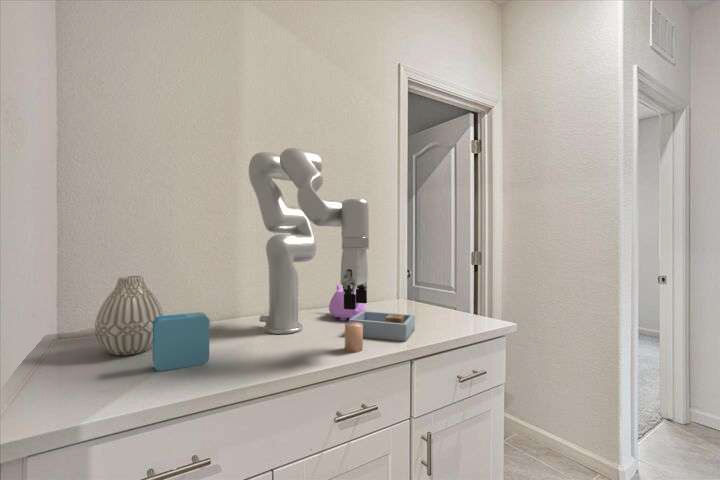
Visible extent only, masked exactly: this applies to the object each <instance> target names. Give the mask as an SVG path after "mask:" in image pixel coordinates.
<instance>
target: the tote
mask: <svg viewBox="0 0 720 480" xmlns="http://www.w3.org/2000/svg"><path fill="white" fill-rule="evenodd" d="M389 314H392V315H404V323H403V324H402V323H391V322H385V317H387V316H388V315H389ZM350 322H357V323H362V324H363V338H368V339H379V340H387V341H388V340H390V341H397V342H399V341H400V342H407V341H408V339H409V338H410V337H411V336H412V335H413V333H414V332H415V330H416V329H415V328H416V315H415V314H405V313H395V312H394V313H392V312H382V311H370V310H368V311H367V310H366V311H362V312H360V313H359V314H357V315H356V316H354V317H352V318H348V323H350Z"/></svg>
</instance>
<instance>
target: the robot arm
mask: <svg viewBox="0 0 720 480" xmlns="http://www.w3.org/2000/svg"><path fill="white" fill-rule="evenodd" d="M322 170H323V162H322V159H321V157H320V155H318V153H316V152H314V151H311V150H306V149H301V148H297V147H288V148H286V149H284V150H283V151H282V152H281V153H280V154H279V153H274V152H267V151H262V152H258V153H255V154H253V156H252V157H251V158H250V161H249V164H248V177H249V181H250V184H251V187H252V189H253V192H254V193H255V196H256V198H257V201H258V206H259V209H260V213H261V217H262V221H263V225H264V227H265V229H266V231H268V232H269V233H274V234H275V233H276V234H275V235H273V236H271V237H269V239H268V240H267V242H266V245H265V253H266V259H267V264H268V265H267V266H268V289H269V290H268V315H267V314H261V315H260V317H259V319H258V321H259V322H262V323H265V325H264V326H263V330H264V332H266V333H267V334H268V333H269V334H274V335H276V334H277V335H286V334H294V333H297V332H300V331H302V330H303V327H304V325H303V324H302V323H301V322H299V274H298V270H297V269H296V267H295V266H294V263H302V262H304V263H305V262H309V261H311V260H313V259H314V258H315V256H316V253H317V244H316V239H315V236H314V232H313V229H312V225H314V226H318V227H335V228H336V227H337V228H338V227H339V228H341V250H342V253H341V261H340V286H342V289H344V290H343V294H344V309H351V310H354V309H356V303H365V304H367V303H368V285H367V283H368V277H369V276H368V273H369V272H368V253H367V250H369V249H370V235H369V233H370V232H369V230H370V229H369V228H370V227H369V225H370V224H369V223H370V222H369V219H370V218H369V202H368V201H367V200H366V199H362V198H348V199H344V200H343V201H342V200H341V201H340V200H334V199H323V198H321V197H320V196H319V194H318V193H317V192H318V191H319V190H320V189H321V187H322V186H323V183H324V177H323V174H322V173H321V172H322ZM273 179H275V180H280V181H289V182H291V181H292V184H294V186H295V187H296V188H297V194H296V195H297V196H296V199H297V204H298V206H295V205H288V204H286V201H285V200H284V199H285V198H284V196H283V192H282V191H281V189H280V187H279V186H278V184H276V183H275V182H274V180H273ZM311 224H312V225H311ZM355 290H356V294H354V292H355Z"/></svg>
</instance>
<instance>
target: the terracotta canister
mask: <svg viewBox="0 0 720 480" xmlns="http://www.w3.org/2000/svg"><path fill="white" fill-rule="evenodd" d="M363 344H364V337H363V324H362V323H357V322H350V323H349V322H346V323H345V324H344V351H345V352H348V353H360V352H362V351H363V348H364V347H363Z"/></svg>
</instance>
